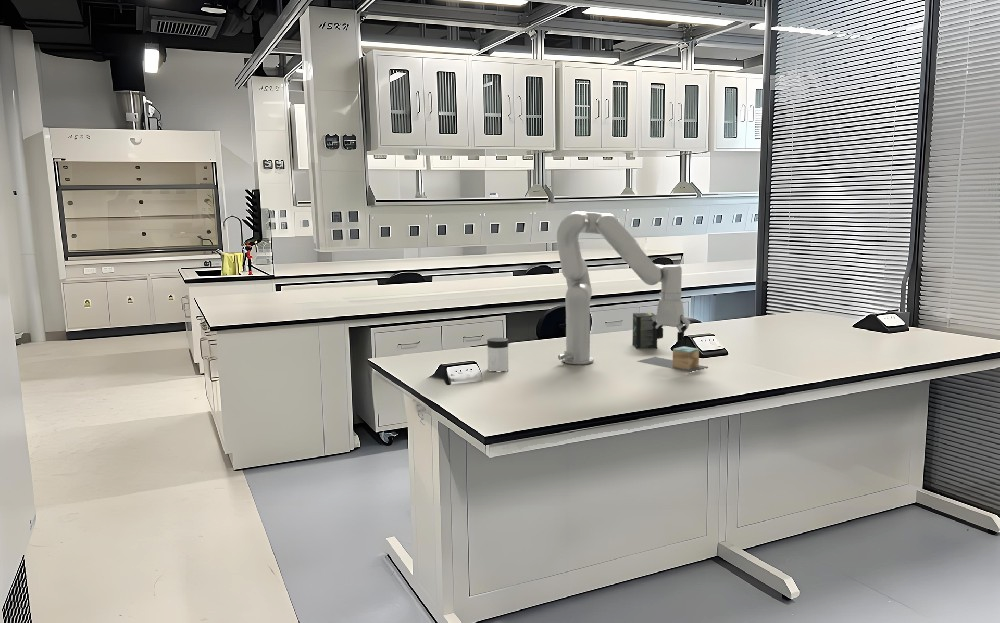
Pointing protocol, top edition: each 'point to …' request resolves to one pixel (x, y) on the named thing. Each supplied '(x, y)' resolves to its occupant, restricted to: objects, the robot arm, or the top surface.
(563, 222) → the robot arm
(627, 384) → the top surface
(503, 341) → the jar
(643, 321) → the tampon box
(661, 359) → the rubber mat
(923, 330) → the top surface
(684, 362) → the oak block
